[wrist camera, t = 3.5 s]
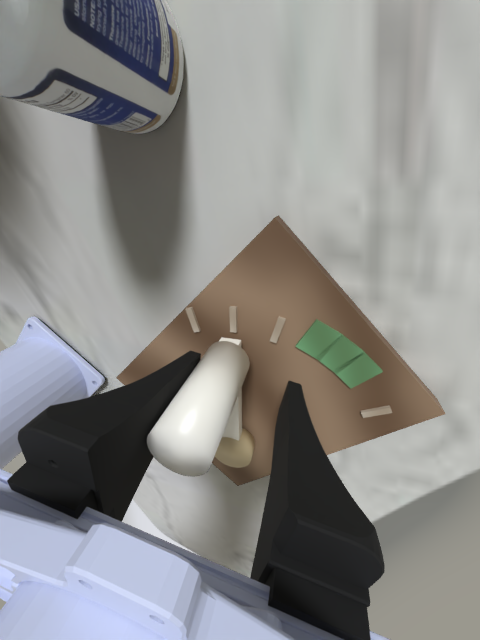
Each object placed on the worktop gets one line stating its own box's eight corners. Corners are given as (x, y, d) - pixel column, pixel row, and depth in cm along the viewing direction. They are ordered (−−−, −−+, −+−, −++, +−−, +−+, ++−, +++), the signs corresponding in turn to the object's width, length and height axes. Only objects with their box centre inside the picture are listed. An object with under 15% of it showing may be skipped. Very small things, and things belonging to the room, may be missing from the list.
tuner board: (241, 472, 23) (237, 488, 22) (126, 368, 21) (114, 379, 20) (436, 398, 15) (446, 416, 14) (278, 215, 13) (274, 218, 12)
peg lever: (254, 457, 20) (225, 578, 13) (217, 447, 20) (173, 559, 14) (257, 334, 15) (213, 438, 9) (208, 328, 15) (136, 419, 9)
